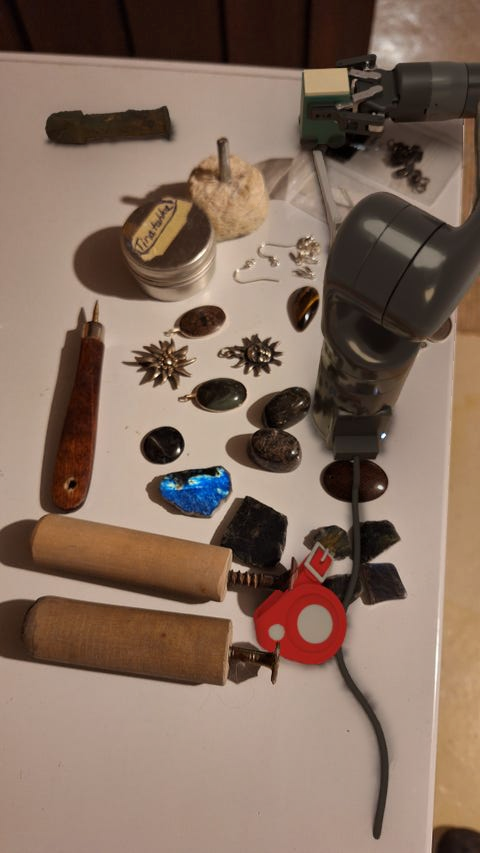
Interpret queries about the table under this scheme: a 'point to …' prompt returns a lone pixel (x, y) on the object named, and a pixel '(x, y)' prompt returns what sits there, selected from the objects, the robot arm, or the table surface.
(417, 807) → the table surface
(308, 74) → the camper van
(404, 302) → the robot arm
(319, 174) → the caliper
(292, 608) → the tracker holder
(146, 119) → the hand tool
